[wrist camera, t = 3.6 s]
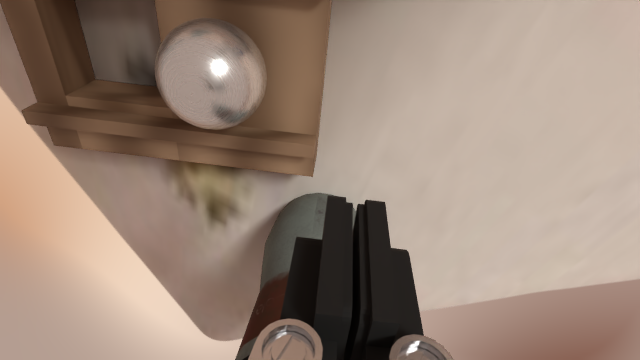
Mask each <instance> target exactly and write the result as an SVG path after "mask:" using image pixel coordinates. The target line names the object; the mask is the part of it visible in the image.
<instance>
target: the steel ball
mask: <svg viewBox="0 0 640 360" xmlns="http://www.w3.org/2000/svg"><path fill="white" fill-rule="evenodd" d="M155 79H156V83H157V87H158V90H159V92H160V94H161V96H162V98H163V100H164V101H165V103H166V104H167V106H168V107H169V108H170V109H171V110H172V111H173V112H174V113H175V114H176V115H177V116H178V117H180V118H181V119H183V120H184V121H186V122H188V123H189V124H192V125H194V126H197V127H200V128H204V129H213V130H218V129H226V128H230V127H233V126H236V125H238V124H240V123H242V122H243V121H245V120H246V119H248V118H249V117H250V116H251V115H252V114H253V113H254V112H255V111H256V109H257V108H258V107H259V105H260V103H261V101H262V99H263V96H264V94H265V90H266V82H267V74H266V67H265V63H264V59H263V57H262V55H261V52H260V50H259V49H258V47H257V45H256V44H255V43H254V41H253V40H252V39H251V38H250V37H249V36H248V35H247V34H246V33H245V32H244V31H242V30H241V29H240V28H238V27H237V26H235V25H233V24H231V23H229V22H226V21H223V20H220V19H214V18H197V19H193V20H190V21H187V22H184V23H182V24H180V25H179V26H177V27H176V28H174V29H173V30H172V31H171V32H170V33H169V34H168V35H167V36H166V37H165V39H164V40H163V42H162V43H161V45H160V47H159V49H158V52H157V56H156V60H155Z"/></svg>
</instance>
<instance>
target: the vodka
mask: <svg viewBox="0 0 640 360" xmlns="http://www.w3.org/2000/svg"><path fill="white" fill-rule="evenodd" d="M328 195H329V194H322V193H315V194H306V195H303V196H301V197H298V198H296V199H294V200H293V201H292V202H290V203H289V204H288V205H287V206H286V207H285V208H284V209H283V211H282V212H281V213H280V214H279V216H278V218H277V220H276V222H275V224H274V226H273V228H272V230H271V232H270V234H269V236H268V239H267V241H266V243H265V250H264V257H263V264H262V274H261V284H260V293H259V296H258V298H257V301H256V304H255V307H254V309H253V312H252V315H251V318H250V320H249V323H248V326H247V329H246V332H245V334H244V337H243V340H242V343H241V345H240V348H239V351H238V354H237V356H236V359H235V360H242V359H244V358H245V357H247V356H248V355H250V354H251V351H252V349H253V346H254V344H255V342H256V339H257V338H258V336H259V334H260V333H261V331H262V330H263V329H265V328H266V327H267V326H268V325H269V324H271V323H273V322H275V321H278V320H280V316H281V311H282V306H283V301H284V296H285V291H286V286H287V281H288V276H289V270H290V265H291V260H292V255H293V250H294V245H295V240H296V237H305V238H313V239H321V240H322V235H323V227H324V219H325V212H326V204H327V196H328ZM330 196H333V195H330ZM355 216H356V211H355V209H354V208H353V227H354V221H355Z"/></svg>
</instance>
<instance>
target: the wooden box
mask: <svg viewBox="0 0 640 360" xmlns="http://www.w3.org/2000/svg"><path fill="white" fill-rule="evenodd" d="M154 1H155V7H156V13H157V20H158V26H159V33H160V39H161V43H162V42H163V40H164V39H165V37H166V36H167V35H168V34H169V33H170V32H171V31H172V30H173V29H174V28H176V27H177V26H179V25H180V24H182V23H184V22H187V21H190V20H193V19H197V18H214V19H220V20H223V21H226V22H229V23H231V24H233V25H235V26H237V27H238V28H240V29H241V30H242V31H244V32H245V33H246V34H247V35H248V36H249V37H250V38H251V39H252V40H253V41H254V43H255V44H256V45H257V47H258V49H259V50H260V52H261V55H262V57H263V59H264V63H265V67H266V74H267V82H266V90H265V94H264V96H263V99H262V101H261V103H260V105H259V107H258V108H257V109H256V111H255V112H254V113H253V114H252V115H251V116H250V117H249V118H248V119H246V120H245V121H243V122H242V123H240V124H238V125H236V126H233V127H230V128H226V129H218V130H213V129H204V128H200V127H197V126H194V125H192V124H189V123H188V122H186V121H184V120H183V119H181V118H180V117H178V116H177V115H176V114H175V113H174V112H173V111H172V110H171V109H170V108H169V107H168V106H167V104H166V103H165V101H164V100H163V98H162V96H161V94H160V92H159V90H158V87H155V86H146V85H138V84H129V83H121V82H112V81H104V80H96V79H95V76H94V72H93V68H92V65H91V61H90V57H89V53H88V50H87V46H86V42H85V39H84V35H83V31H82V27H81V24H80V20H79V16H78V13H77V9H76V5H75V1H74V0H0V3H1V6H2V8H3V11H4V14H5V16H6V19H7V22H8V24H9V27H10V30H11V32H12V35H13V38H14V40H15V43H16V46H17V48H18V51H19V54H20V56H21V59H22V62H23V64H24V67H25V70H26V72H27V75H28V78H29V80H30V83H31V86H32V88H33V91H34V94H35V96H36V99H37V103H35V104H33V105H31V106H29V107H27V108H25V109H24V110H22V113H23V116H24V118H25V120H26V123H27V124H31V125H39V126H47V128H48V131H49V134H50V136H51V139H52V141H53V144H54V145H56V146H64V147H72V148H81V149H89V150H97V151H105V152H113V153H122V154H130V155H138V156H146V157H155V158H163V159H171V160H179V161H188V162H196V163H204V164H212V165H220V166H229V167H237V168H245V169H253V170H262V171H270V172H278V173H286V174H295V175H303V176H311V177H313V172H314V166H315V161H316V155H317V146H318V136H319V126H320V116H321V106H322V96H323V86H324V75H325V65H326V55H327V45H328V35H329V25H330V15H331V4H332V0H154Z"/></svg>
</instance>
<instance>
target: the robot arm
mask: <svg viewBox="0 0 640 360" xmlns="http://www.w3.org/2000/svg"><path fill="white" fill-rule="evenodd" d="M242 360H453V358H452V356H451V355H450V353H449V352H448V351H447V350H446V349H445V348H444V347H443V346H442V345H441V344H439V343H437V342H436V341H435V340H433V339H431V338H428V337H426V336H424V334H423V329H422V324H421V318H420V312H419V307H418V301H417V296H416V290H415V284H414V279H413V273H412V268H411V262H410V257H409V253H408V251H407V250H403V249H395V248H391V246H390V238H389V230H388V222H387V214H386V205H385V202H380V201H371V200H366V201H365V204H364V205H363V204H358V206H357V211H356V216H355V221H354V227H353V203H347V202H346V197H338V196H330V195H328V196H327V204H326V212H325V219H324V227H323V235H322V240H321V239H313V238H305V237H296V240H295V245H294V250H293V255H292V260H291V265H290V270H289V276H288V281H287V286H286V291H285V296H284V301H283V306H282V311H281V316H280V320H278V321H275V322H273V323H271V324H269V325H268V326H267V327H266V328H265V329H263V330H262V331H261V333H260V334H259V336H258V338H257V339H256V342H255V344H254V346H253V349H252V351H251V354H250V355H248V356H247V357H245V358H244V359H242Z"/></svg>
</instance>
